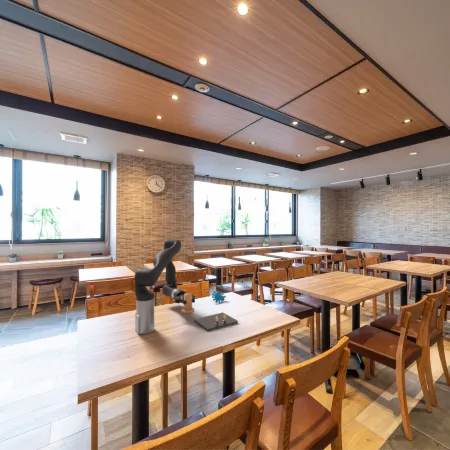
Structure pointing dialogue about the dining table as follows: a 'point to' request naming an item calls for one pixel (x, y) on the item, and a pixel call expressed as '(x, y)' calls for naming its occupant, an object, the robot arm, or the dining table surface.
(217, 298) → the teal spiky virus model
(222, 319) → the base plate
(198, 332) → the dining table surface
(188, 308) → the orange flanged cylinder
